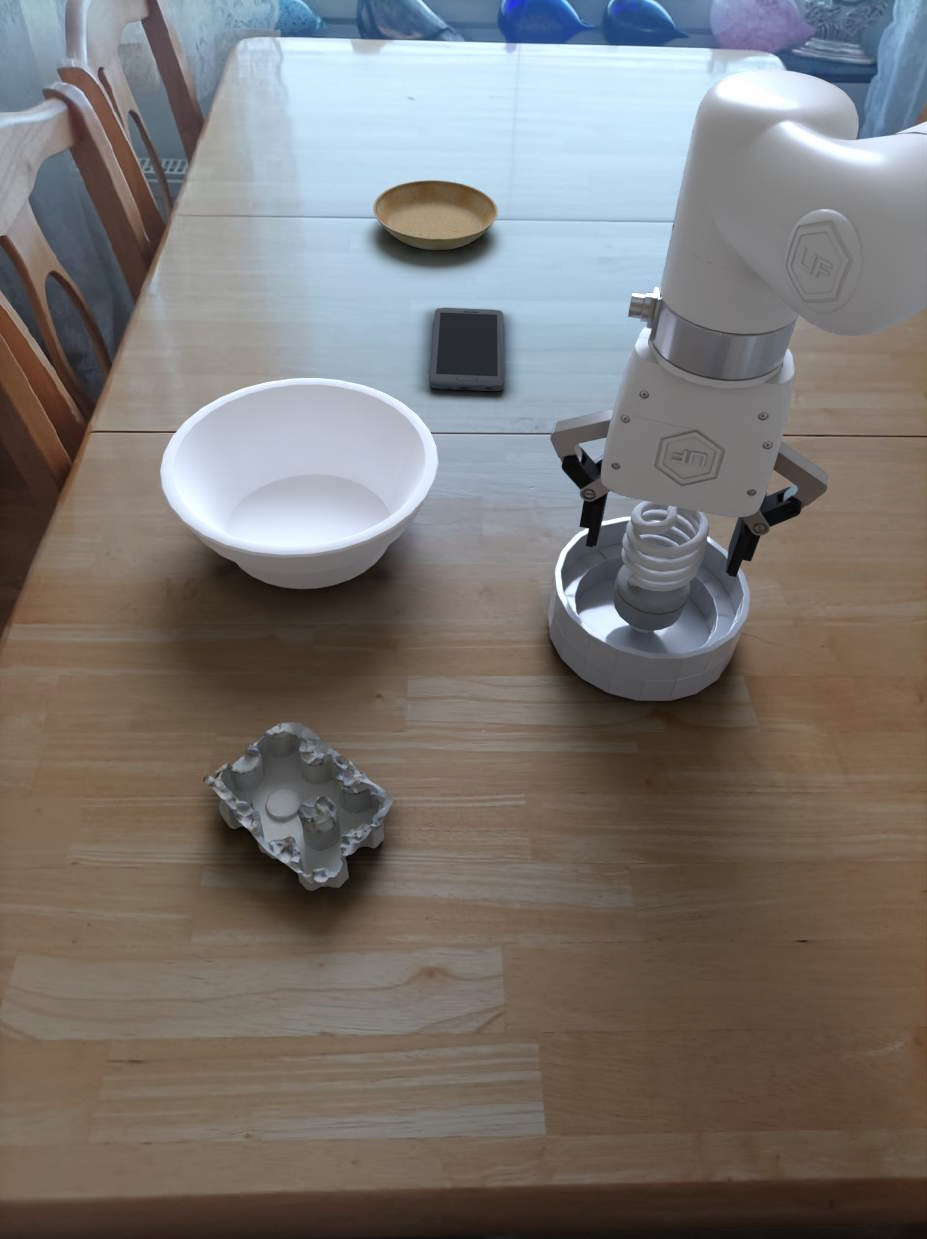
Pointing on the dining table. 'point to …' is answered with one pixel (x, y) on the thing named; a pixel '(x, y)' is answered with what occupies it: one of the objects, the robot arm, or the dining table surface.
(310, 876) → the egg carton
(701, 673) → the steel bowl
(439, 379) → the cell phone
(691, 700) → the dining table surface
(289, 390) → the bowl
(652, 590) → the light bulb
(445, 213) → the plant saucer
